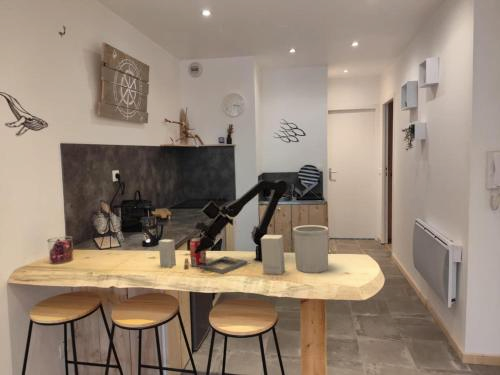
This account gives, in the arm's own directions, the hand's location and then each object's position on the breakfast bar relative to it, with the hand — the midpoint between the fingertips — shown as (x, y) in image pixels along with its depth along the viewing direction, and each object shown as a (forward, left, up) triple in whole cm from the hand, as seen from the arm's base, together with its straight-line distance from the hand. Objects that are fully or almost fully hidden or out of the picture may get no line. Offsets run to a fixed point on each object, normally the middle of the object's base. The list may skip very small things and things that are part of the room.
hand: (194, 251), depth 167 cm
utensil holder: (-46, -26, -7) cm, 53 cm away
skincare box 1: (+10, +8, -7) cm, 15 cm away
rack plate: (-12, -6, -7) cm, 15 cm away
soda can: (-1, -1, -7) cm, 7 cm away
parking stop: (+3, +3, -7) cm, 8 cm away
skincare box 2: (-36, -12, -7) cm, 38 cm away
